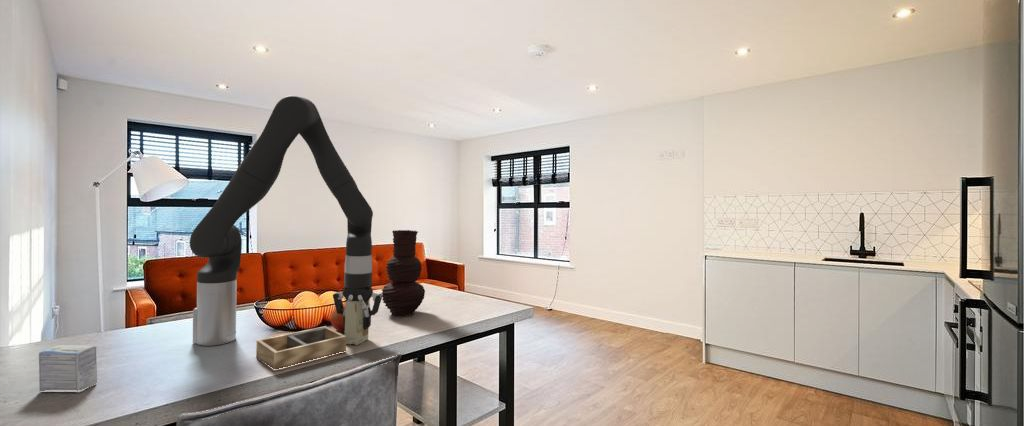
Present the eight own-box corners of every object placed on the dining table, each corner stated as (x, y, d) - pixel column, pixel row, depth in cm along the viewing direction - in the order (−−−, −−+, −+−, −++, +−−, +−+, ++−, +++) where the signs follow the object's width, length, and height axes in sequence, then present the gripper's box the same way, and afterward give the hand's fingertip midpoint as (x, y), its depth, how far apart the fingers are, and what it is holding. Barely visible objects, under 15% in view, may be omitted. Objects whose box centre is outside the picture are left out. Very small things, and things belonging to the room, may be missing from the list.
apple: (354, 325, 141) (354, 301, 141) (360, 332, 134) (361, 307, 134) (327, 328, 137) (328, 303, 136) (333, 336, 130) (333, 310, 129)
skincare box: (357, 346, 122) (358, 303, 122) (343, 344, 123) (344, 301, 123) (369, 338, 129) (370, 298, 128) (355, 337, 130) (357, 296, 129)
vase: (380, 308, 161) (382, 228, 160) (421, 307, 166) (424, 229, 165) (380, 320, 147) (382, 232, 145) (426, 318, 151) (429, 233, 150)
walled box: (274, 371, 103) (275, 352, 103) (256, 357, 111) (256, 340, 111) (345, 352, 117) (346, 336, 117) (324, 341, 125) (325, 326, 125)
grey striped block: (98, 384, 93) (97, 345, 93) (77, 394, 89) (77, 352, 89) (60, 383, 93) (59, 344, 93) (38, 393, 89) (37, 351, 88)
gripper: (328, 271, 121) (326, 331, 122) (379, 273, 121) (377, 333, 122) (338, 267, 129) (337, 323, 129) (386, 269, 129) (385, 325, 130)
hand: (357, 328), depth 126 cm, fingers closed on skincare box, 5 cm apart
